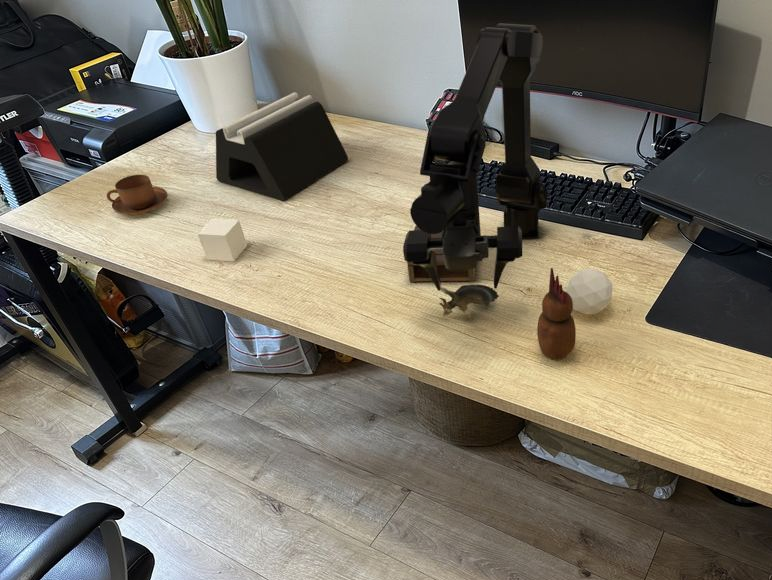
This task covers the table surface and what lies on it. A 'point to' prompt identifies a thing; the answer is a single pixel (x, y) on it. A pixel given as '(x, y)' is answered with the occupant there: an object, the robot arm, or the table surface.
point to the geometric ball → (589, 291)
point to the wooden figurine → (556, 322)
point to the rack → (445, 275)
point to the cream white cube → (222, 239)
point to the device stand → (278, 148)
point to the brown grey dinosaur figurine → (468, 298)
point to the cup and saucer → (136, 195)
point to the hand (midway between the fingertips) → (467, 288)
